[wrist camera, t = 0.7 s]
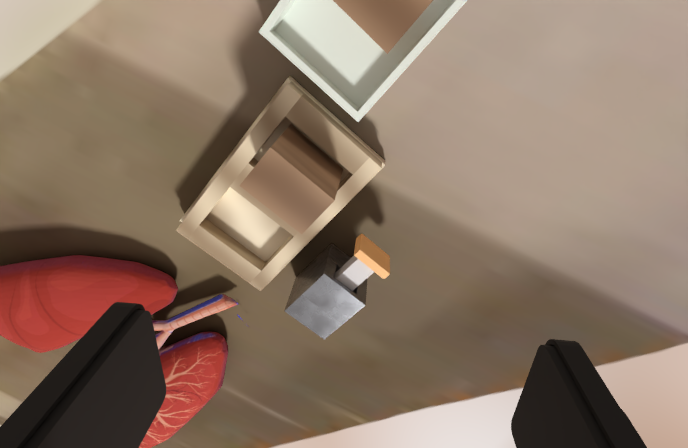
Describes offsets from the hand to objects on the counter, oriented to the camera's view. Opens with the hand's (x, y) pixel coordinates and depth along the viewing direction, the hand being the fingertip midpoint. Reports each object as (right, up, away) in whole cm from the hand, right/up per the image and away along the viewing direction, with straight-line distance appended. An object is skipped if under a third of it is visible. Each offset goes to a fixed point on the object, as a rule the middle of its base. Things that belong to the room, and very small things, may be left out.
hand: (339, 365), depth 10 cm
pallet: (-6, +7, +29) cm, 30 cm away
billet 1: (-4, +9, +26) cm, 28 cm away
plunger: (+2, 0, +29) cm, 29 cm away
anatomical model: (-25, -9, +40) cm, 48 cm away
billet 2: (+3, +21, +20) cm, 29 cm away
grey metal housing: (-1, -2, +33) cm, 33 cm away
